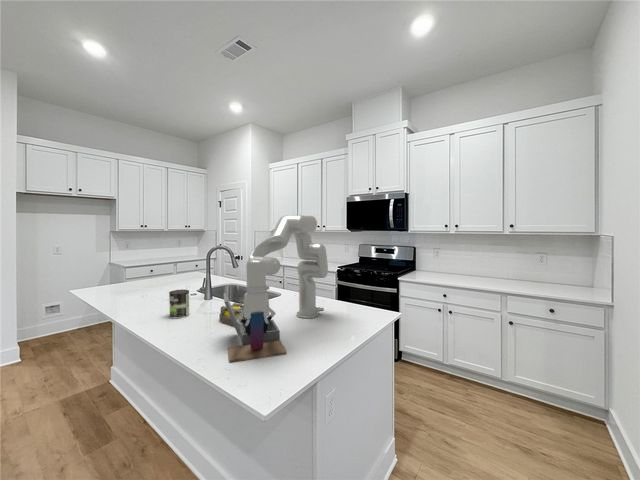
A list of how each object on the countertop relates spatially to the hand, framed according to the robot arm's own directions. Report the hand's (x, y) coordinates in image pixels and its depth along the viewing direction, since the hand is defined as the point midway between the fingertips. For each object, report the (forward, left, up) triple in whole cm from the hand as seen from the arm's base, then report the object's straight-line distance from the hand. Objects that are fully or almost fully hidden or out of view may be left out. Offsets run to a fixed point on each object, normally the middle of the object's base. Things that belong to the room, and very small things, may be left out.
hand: (256, 333), depth 117 cm
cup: (0, 0, -6) cm, 6 cm away
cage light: (+2, -39, -8) cm, 40 cm away
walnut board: (0, 0, -8) cm, 8 cm away
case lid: (+8, -15, +5) cm, 18 cm away
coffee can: (+35, -62, -8) cm, 72 cm away
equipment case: (-2, -15, -8) cm, 17 cm away
